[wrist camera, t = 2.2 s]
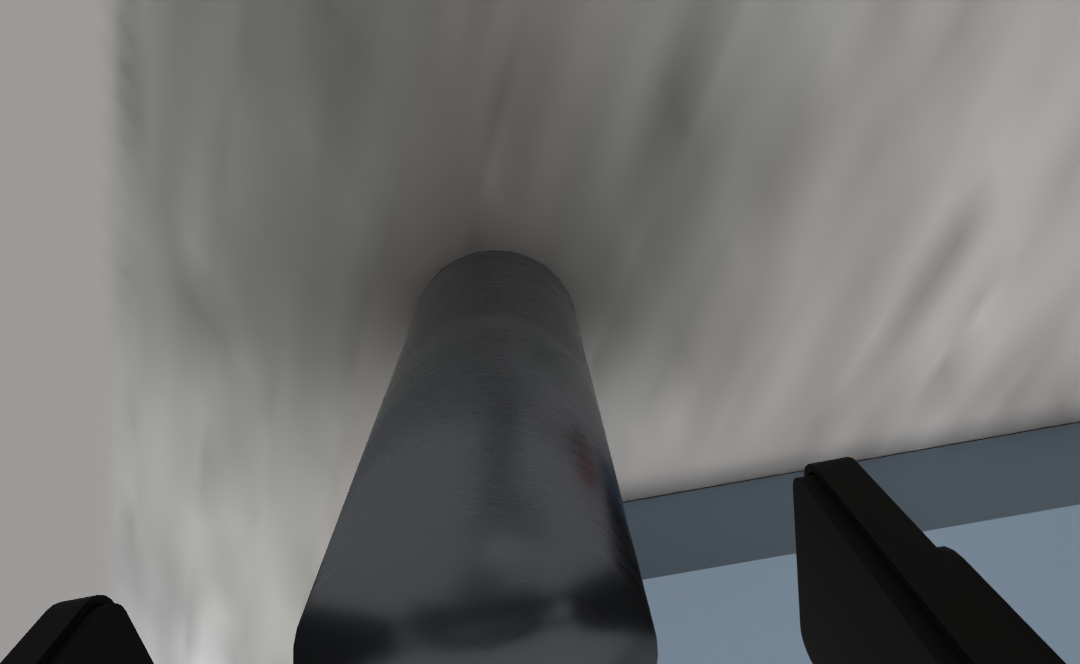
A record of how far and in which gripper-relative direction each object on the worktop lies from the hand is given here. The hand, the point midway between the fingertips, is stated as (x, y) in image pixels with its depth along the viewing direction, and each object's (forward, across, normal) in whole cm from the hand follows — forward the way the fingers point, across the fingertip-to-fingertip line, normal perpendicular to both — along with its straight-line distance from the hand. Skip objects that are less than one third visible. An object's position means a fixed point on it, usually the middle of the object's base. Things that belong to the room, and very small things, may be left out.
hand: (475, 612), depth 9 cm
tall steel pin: (+8, 0, -1) cm, 8 cm away
